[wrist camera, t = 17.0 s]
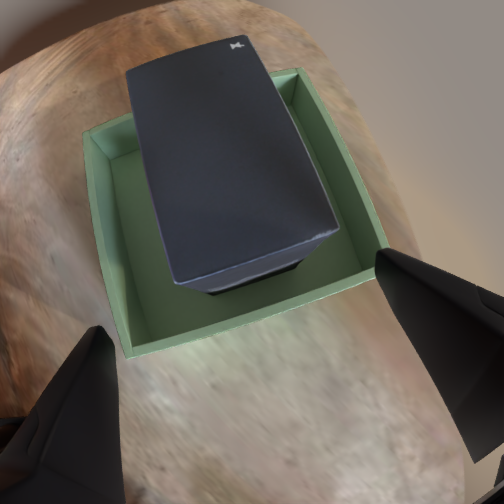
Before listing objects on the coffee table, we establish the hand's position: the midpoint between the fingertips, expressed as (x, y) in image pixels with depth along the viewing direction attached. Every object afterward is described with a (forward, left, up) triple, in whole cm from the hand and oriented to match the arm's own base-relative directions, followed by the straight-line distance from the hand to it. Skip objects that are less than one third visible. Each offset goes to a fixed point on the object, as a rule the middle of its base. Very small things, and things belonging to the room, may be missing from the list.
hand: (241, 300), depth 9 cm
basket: (+1, +7, -12) cm, 13 cm away
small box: (+1, +6, -11) cm, 13 cm away
